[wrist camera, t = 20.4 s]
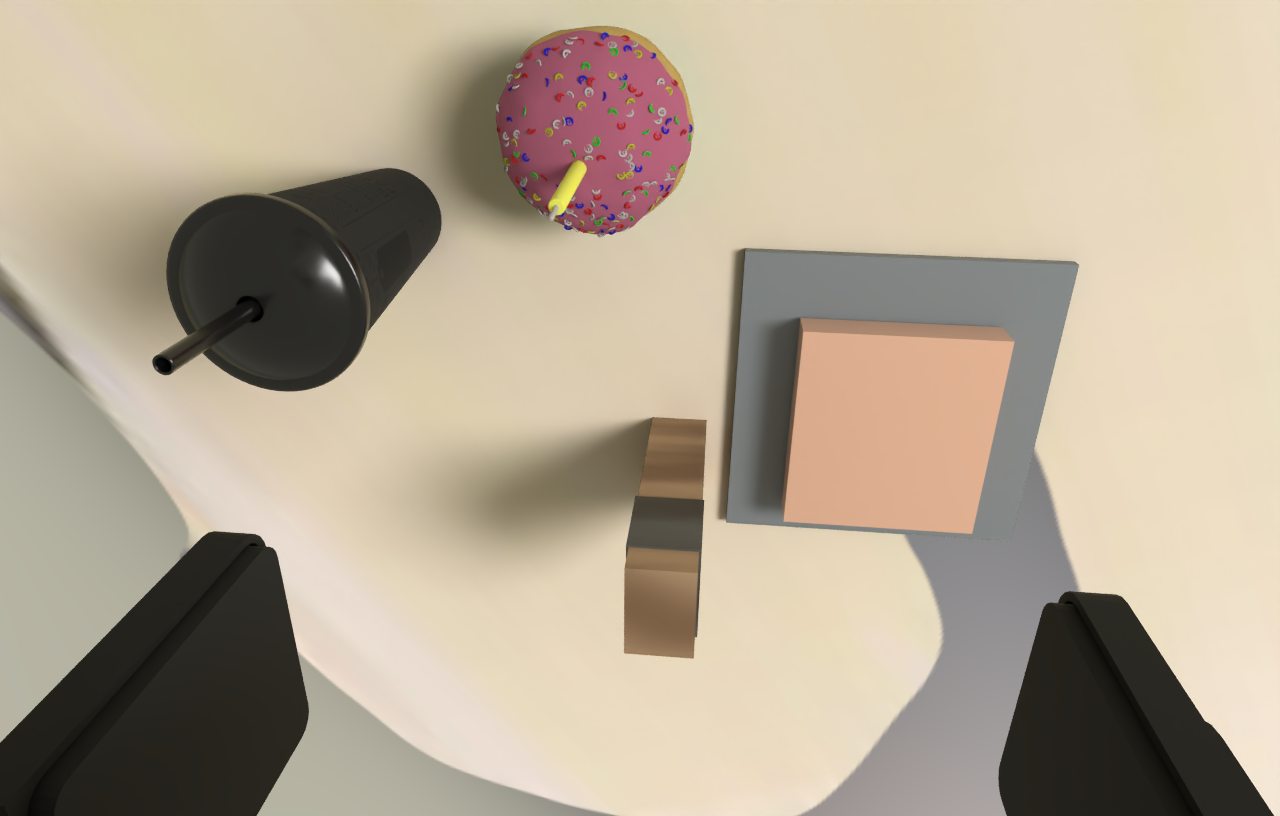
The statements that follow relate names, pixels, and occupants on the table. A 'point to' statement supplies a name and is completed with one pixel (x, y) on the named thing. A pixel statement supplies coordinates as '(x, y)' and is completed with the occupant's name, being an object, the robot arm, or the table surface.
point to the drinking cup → (295, 275)
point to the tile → (892, 423)
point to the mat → (890, 292)
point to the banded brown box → (666, 543)
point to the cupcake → (594, 128)
